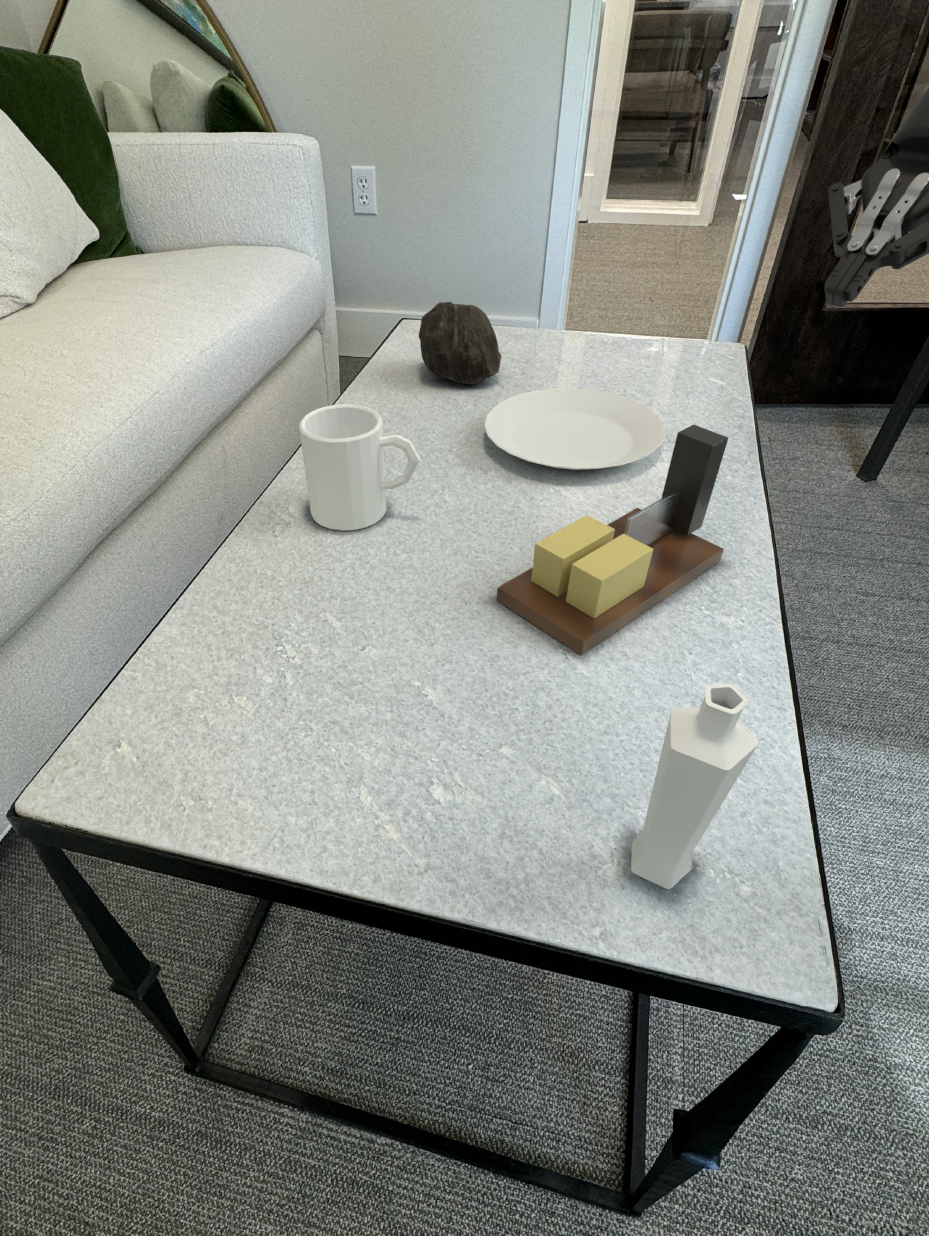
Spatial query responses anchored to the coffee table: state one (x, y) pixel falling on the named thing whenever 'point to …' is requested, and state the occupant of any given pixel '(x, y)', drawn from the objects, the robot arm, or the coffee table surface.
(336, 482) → the mug
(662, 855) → the white faceted vase
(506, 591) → the slicer board
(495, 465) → the coffee table surface
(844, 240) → the robot arm
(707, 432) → the knife
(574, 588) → the butter
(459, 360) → the rock
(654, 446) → the plate
